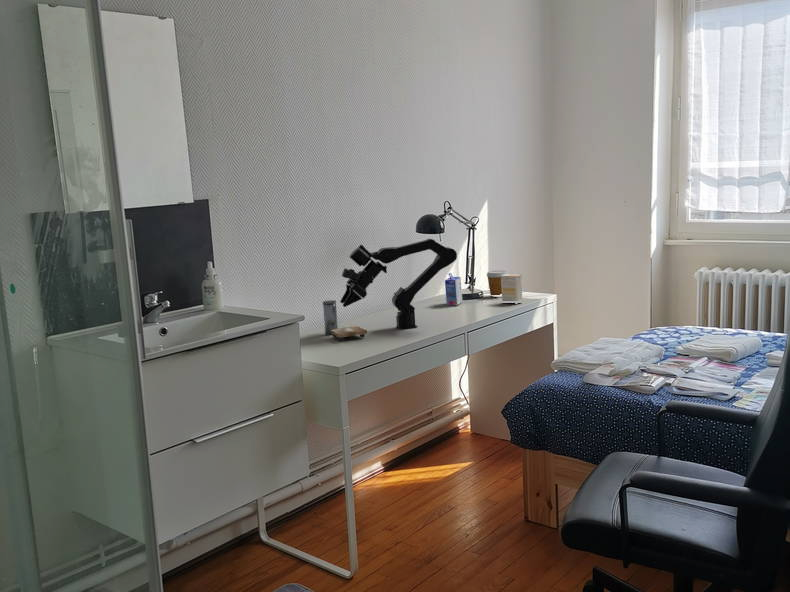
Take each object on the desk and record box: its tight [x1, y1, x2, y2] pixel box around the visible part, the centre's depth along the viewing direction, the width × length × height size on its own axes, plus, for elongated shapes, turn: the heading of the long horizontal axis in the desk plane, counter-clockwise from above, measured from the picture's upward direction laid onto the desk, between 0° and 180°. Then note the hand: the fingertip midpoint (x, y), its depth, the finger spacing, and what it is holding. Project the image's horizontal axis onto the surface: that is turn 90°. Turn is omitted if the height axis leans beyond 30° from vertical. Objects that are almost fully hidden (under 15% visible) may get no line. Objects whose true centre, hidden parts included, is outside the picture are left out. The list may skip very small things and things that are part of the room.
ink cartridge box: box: [444, 272, 463, 306], centre depth 347 cm, size 10×6×14 cm, turn 161°
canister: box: [322, 299, 339, 336], centre depth 295 cm, size 5×5×13 cm
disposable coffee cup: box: [486, 270, 507, 296], centre depth 361 cm, size 10×10×12 cm
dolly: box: [330, 325, 368, 342], centre depth 286 cm, size 11×11×3 cm
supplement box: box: [501, 273, 523, 301], centre depth 340 cm, size 8×5×13 cm, turn 49°
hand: (342, 304), depth 295 cm, fingers open, 9 cm apart
